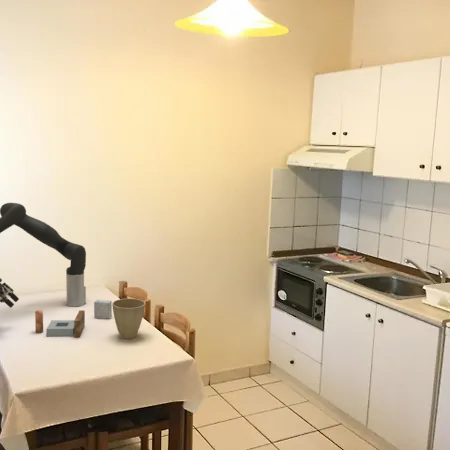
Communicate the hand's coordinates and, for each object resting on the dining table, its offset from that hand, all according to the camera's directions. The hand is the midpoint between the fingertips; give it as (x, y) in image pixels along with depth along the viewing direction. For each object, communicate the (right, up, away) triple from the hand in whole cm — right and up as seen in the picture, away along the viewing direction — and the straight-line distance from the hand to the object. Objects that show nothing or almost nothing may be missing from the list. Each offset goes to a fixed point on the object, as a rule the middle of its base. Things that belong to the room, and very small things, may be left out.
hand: (15, 303), depth 260 cm
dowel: (+10, -14, +3) cm, 17 cm away
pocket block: (+21, -14, +4) cm, 25 cm away
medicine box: (+35, -11, +27) cm, 45 cm away
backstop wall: (+28, -14, +5) cm, 32 cm away
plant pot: (+52, -16, +2) cm, 54 cm away
